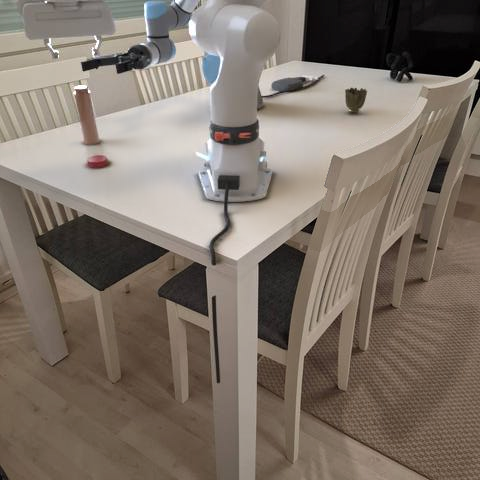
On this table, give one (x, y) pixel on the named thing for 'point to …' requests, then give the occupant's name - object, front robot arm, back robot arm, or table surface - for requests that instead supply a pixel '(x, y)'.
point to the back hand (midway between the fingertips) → (99, 67)
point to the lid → (97, 161)
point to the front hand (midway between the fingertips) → (76, 57)
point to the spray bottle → (291, 83)
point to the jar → (86, 115)
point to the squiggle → (399, 66)
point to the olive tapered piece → (355, 99)
